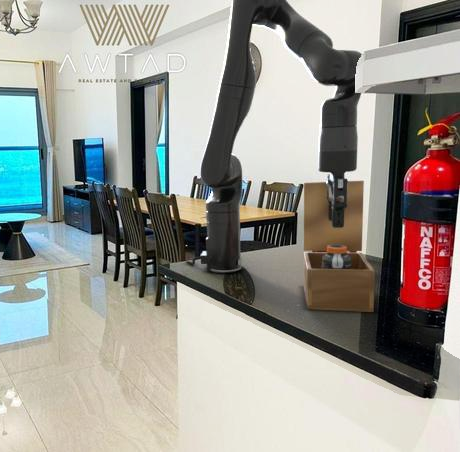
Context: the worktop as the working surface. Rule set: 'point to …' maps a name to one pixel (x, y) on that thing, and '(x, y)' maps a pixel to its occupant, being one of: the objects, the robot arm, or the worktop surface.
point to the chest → (339, 284)
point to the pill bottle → (336, 258)
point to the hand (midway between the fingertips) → (335, 223)
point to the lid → (320, 226)
